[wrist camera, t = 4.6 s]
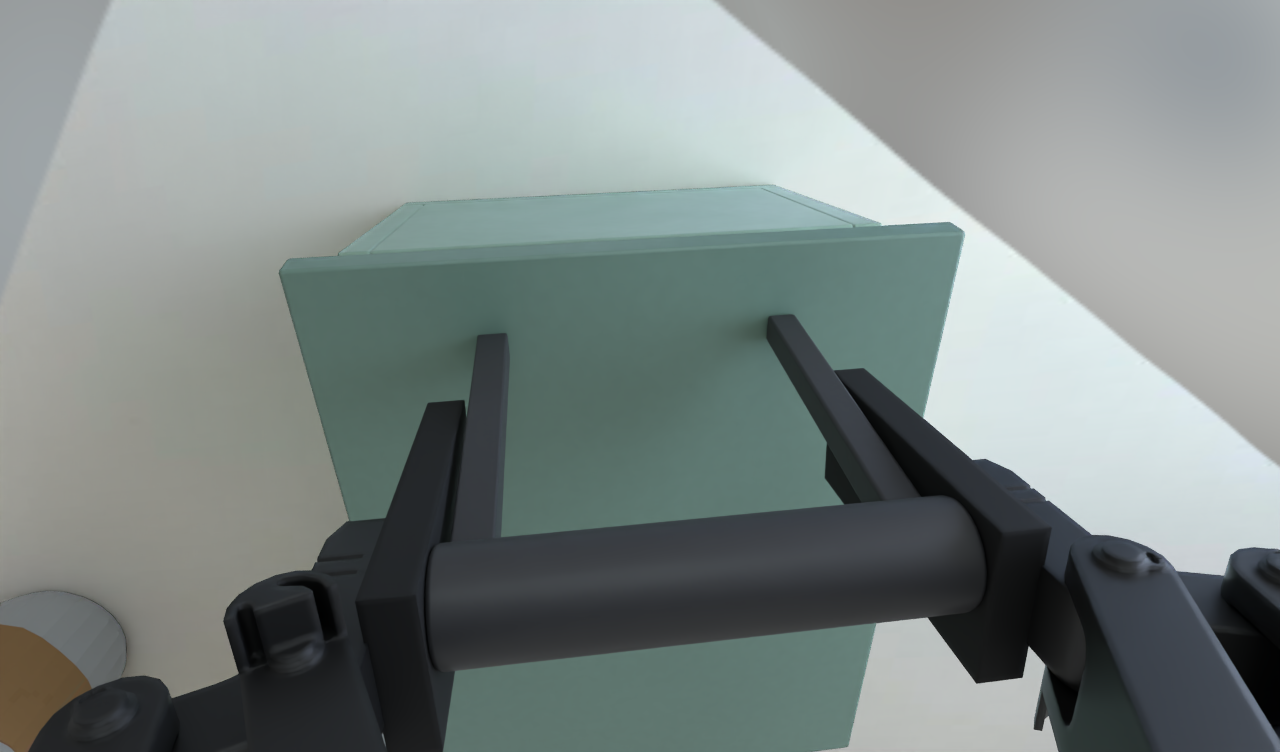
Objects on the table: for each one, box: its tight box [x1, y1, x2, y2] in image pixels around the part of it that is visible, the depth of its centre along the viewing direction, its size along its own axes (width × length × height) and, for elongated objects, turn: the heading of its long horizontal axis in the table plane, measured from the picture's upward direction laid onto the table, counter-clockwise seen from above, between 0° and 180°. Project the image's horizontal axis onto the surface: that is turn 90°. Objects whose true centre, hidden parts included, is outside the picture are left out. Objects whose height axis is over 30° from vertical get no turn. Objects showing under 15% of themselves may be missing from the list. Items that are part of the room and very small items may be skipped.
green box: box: [338, 185, 881, 256], centre depth 30 cm, size 20×16×11 cm
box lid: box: [279, 222, 987, 752], centre depth 19 cm, size 21×16×10 cm
